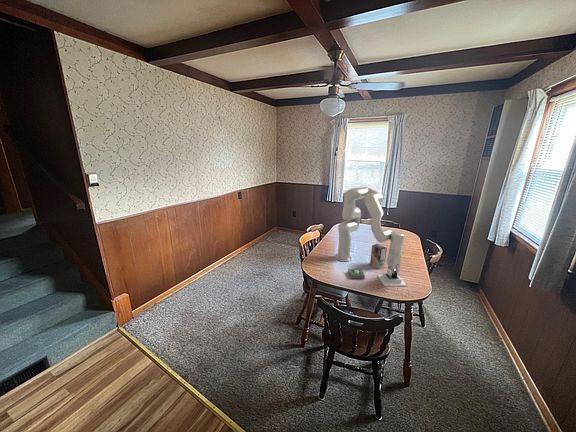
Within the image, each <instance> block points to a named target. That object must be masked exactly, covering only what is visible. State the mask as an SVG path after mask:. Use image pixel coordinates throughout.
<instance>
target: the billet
mask: <svg viewBox="0 0 576 432" xmlns="http://www.w3.org/2000/svg"><path fill="white" fill-rule="evenodd" d="M395 269H396V268H395ZM394 271H396V270H394ZM387 272H388V276H387V277H388V279H392V278H391V277H392V273H393V269H391V268H390V267H389V268H388V267H387Z"/></svg>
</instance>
